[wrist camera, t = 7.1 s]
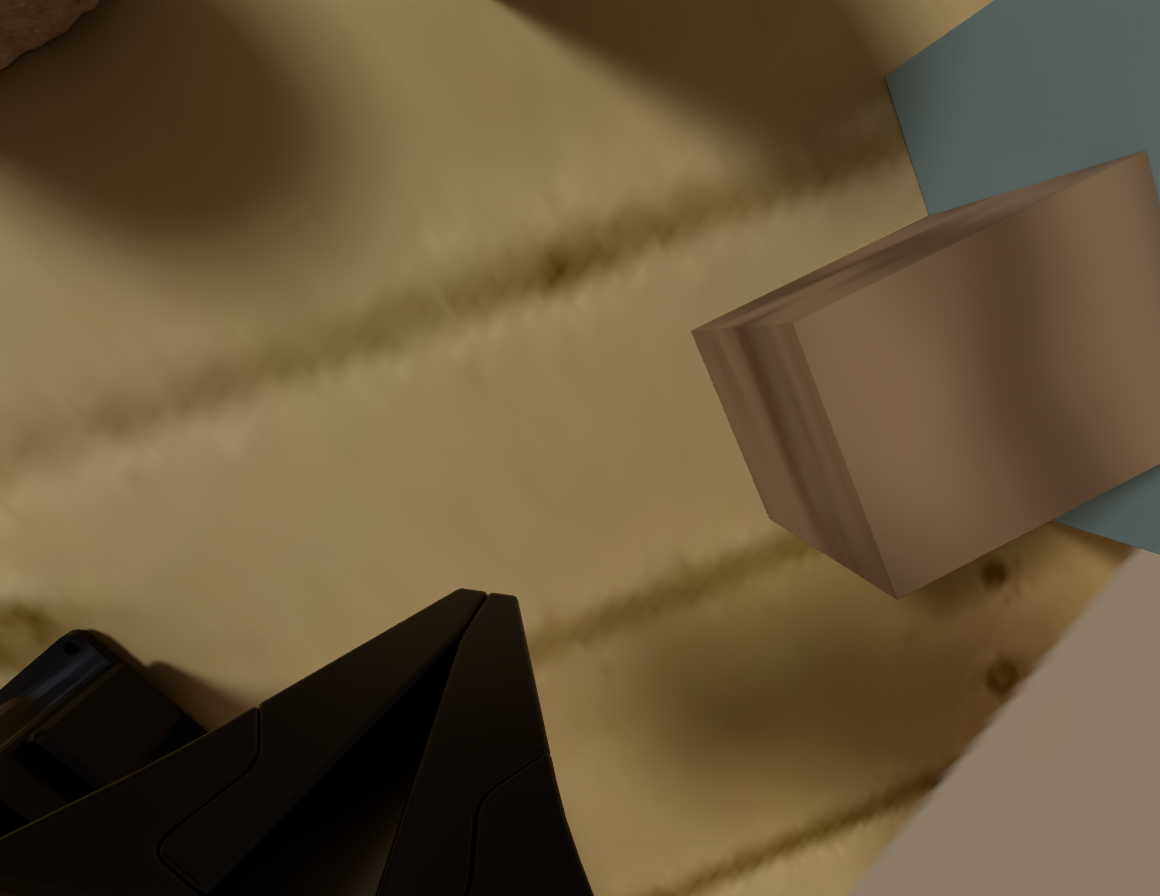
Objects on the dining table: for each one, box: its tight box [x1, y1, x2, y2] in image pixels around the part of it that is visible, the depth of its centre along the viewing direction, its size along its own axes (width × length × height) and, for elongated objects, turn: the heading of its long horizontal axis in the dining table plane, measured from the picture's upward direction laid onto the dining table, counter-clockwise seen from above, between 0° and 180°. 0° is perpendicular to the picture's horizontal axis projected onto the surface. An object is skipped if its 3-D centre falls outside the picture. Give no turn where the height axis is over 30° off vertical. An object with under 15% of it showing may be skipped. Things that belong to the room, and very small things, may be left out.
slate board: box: [885, 0, 1160, 554], centre depth 19 cm, size 2×18×10 cm, turn 25°
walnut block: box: [691, 150, 1160, 600], centre depth 20 cm, size 10×8×8 cm
